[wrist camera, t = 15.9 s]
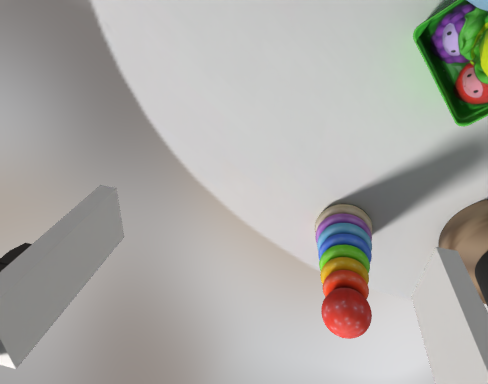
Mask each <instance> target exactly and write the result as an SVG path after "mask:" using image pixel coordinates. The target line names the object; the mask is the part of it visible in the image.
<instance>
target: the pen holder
mask: <svg viewBox="0 0 488 384" xmlns="http://www.w3.org/2000/svg"><path fill="white" fill-rule="evenodd" d="M475 277H476V280H477V283H478V285H479V287H480V290H481V292H482V295H483V297H484V299H485V302H486V304H487V306H488V251H487V252H486V253H485V254H484V255H483V256H482V257H481V258H480V259H479V261H478V262H477V264H476V267H475Z"/></svg>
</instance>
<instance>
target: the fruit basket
mask: <svg viewBox="0 0 488 384" xmlns="http://www.w3.org/2000/svg"><path fill="white" fill-rule="evenodd" d="M413 39H414V41H415V43H416V45H417V47H418V49H419V51H420V53H421V55H422V57H423V59H424V61H425V62H426V64H427V66H428V69H429V71H430V73H431V75H432V77H433V79H434V81H435V83H436V85H437V87H438V89H439V91H440V93H441V95H442V97H443V99H444V101H445V103H446V105H447V107H448V109H449V111H450V113H451V115H452V117H453V119H454V121H455V123H456V124H457V125H459V126H468V125H470V124H472V123H474V122H476V121H478V120H480V119H482V118H484V117H486V116H488V11H485V10H482V9H480V8H477V7H476V6H474V5H473V4H471V3H470V2H468V1H467V0H457V1H455V2H454V3H452V4H451V5H449V6H448V7H446V8H445V9H443V10H442V11H440V12H439V13H437V14H436V15H434V16H432V17H431V18H429V19H428V20H426V21H425V22H423V23H422V24H420V25H419V26H418V27H417V28H416V29H415V31H414V33H413Z"/></svg>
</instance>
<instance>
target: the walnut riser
mask: <svg viewBox="0 0 488 384" xmlns="http://www.w3.org/2000/svg"><path fill="white" fill-rule="evenodd" d="M439 248H444V249H450V250H455V251H458V253H459V255H460V257H461V259H462V261H463V263H464V265H465V267H466V269H467V271H468V273H469V275H470V277H471V279H472V282H473V284H474V286H475V288H476V290H477V292H478V294H479V296H480V298H481V300H482V302H483V303H484V304H486V302H485V299H484V297H483V295H482V292H481V290H480V287H479V285H478V283H477V280H476V277H475V267H476V264H477V262H478V261H479V259H480V258H481V257H482V256H483V255H484V254H485V253H486V252H487V251H488V199H487V200H483V201H480V202H478V203H475V204H472V205H470V206H468V207H466V208H465V209H463V210H461V211H460V212H458V213H457V214H456V215H455V216H453V217H452V218H451V219H450V220H449V221H448V223H447V224H446V225H445V227H444V228H443V230H442V232H441V234H440V238H439Z"/></svg>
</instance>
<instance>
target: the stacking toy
mask: <svg viewBox="0 0 488 384" xmlns="http://www.w3.org/2000/svg"><path fill="white" fill-rule="evenodd" d="M315 232H316V242H317V246H318V251H319V260H320V262H319V266H320V270H321V281H322V283H323V293H324V295H325V299H324V301H323V304H322V318H323V321H324V323H325V325H326V326H327V328H328V329H329V330H330V331H331V332H332V333H334V334H335V335H337V336H340V337H342V338H356V337H359V336H360V335H362V334H364V333H365V332H366V330H367V329H368V327H369V326H370V323H371V317H372V315H371V309H370V306H369V304H368V302H367V300H366V299H367V297H368V294H369V289H368V282H369V275H368V273H369V269H370V262H371V250H372V243H371V240H372V223H371V220H370V218H369V217H368V215H367V214H366V213H365V212H364V211H363V210H361V209H360V208H358V207H355V206H352V205H347V204H339V205H334V206H331V207H329V208H327V209H326V210H324V211H323V212H322V213H321V214H320V215H319V217H318V218H317V220H316V224H315Z"/></svg>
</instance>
